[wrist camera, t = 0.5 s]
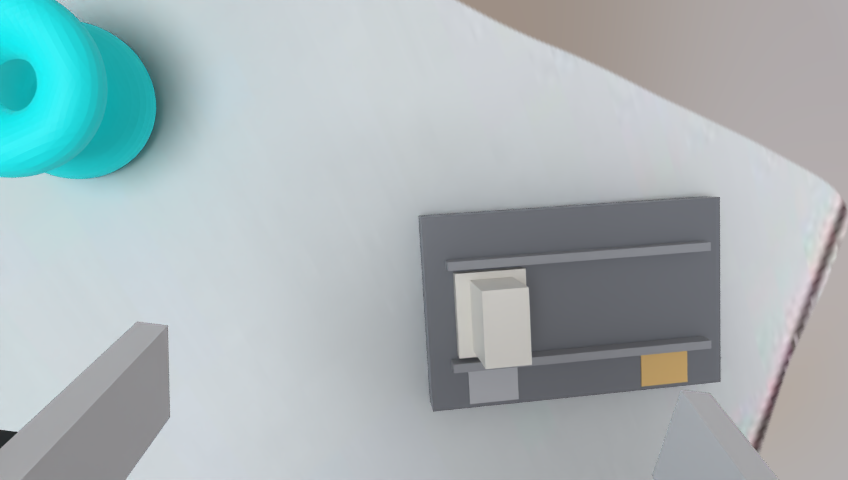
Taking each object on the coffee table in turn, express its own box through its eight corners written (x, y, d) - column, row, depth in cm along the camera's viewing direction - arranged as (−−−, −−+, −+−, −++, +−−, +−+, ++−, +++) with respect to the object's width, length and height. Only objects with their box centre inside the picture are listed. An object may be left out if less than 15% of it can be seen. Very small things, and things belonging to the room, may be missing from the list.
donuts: (26, -64, 27) (127, 126, 28) (117, 3, 37) (189, 141, 38) (-170, 20, 26) (-58, 210, 28) (-25, 65, 36) (53, 203, 38)
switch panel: (704, 372, 44) (730, 387, 41) (429, 400, 42) (435, 418, 39) (703, 196, 42) (730, 197, 39) (418, 215, 40) (423, 218, 37)
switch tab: (525, 348, 40) (547, 370, 35) (457, 355, 40) (470, 378, 35) (522, 266, 39) (543, 278, 35) (453, 272, 39) (465, 284, 34)
